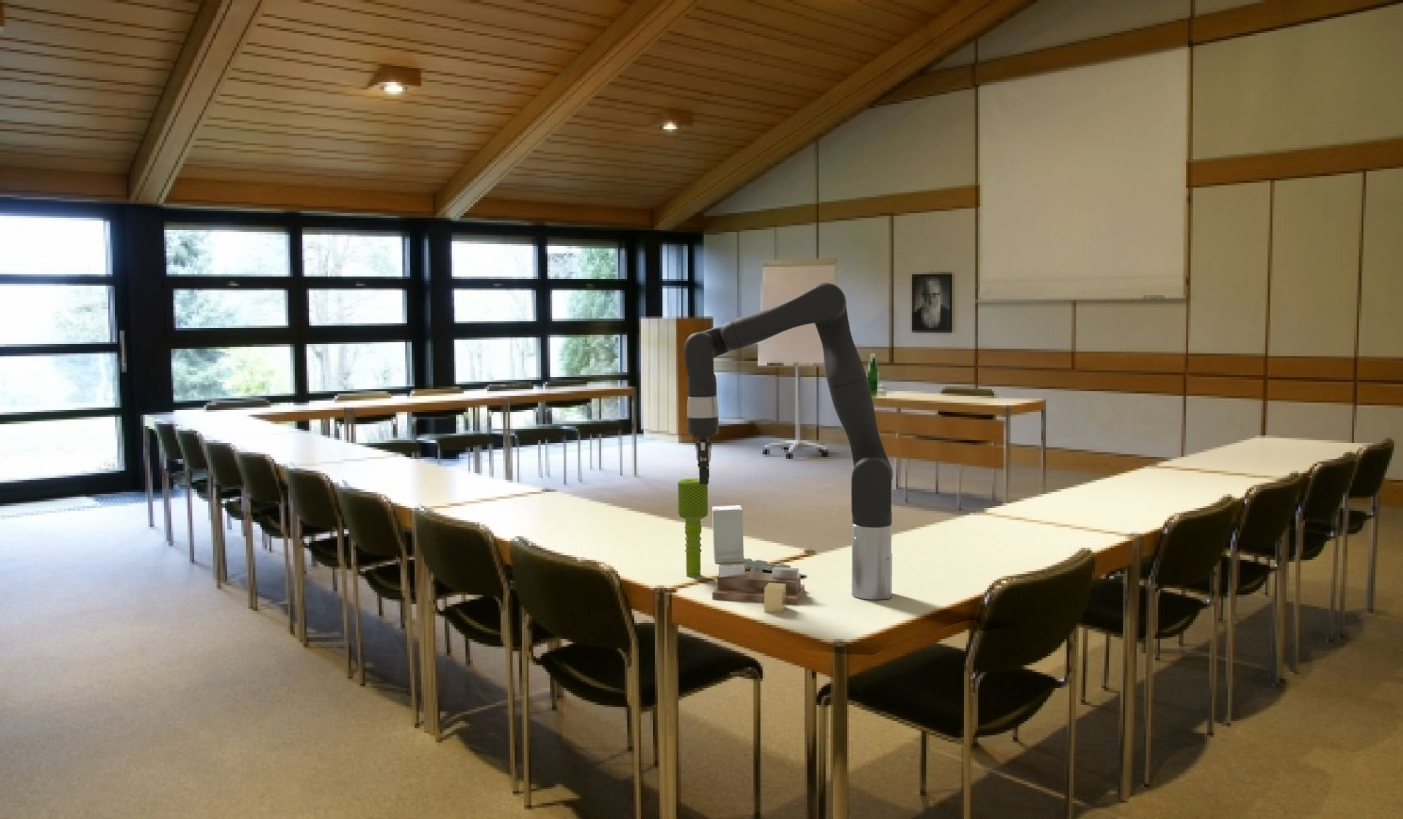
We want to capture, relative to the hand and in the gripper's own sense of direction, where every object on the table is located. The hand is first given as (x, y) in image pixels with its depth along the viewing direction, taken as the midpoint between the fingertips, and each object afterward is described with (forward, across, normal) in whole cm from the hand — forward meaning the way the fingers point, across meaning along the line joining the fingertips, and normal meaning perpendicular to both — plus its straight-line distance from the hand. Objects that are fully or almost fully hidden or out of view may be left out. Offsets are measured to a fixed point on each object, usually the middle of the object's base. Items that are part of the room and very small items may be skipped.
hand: (704, 481), depth 245 cm
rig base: (+27, -6, -12) cm, 30 cm away
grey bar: (+22, -7, -12) cm, 26 cm away
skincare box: (+27, +28, -5) cm, 39 cm away
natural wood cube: (+27, -18, -16) cm, 36 cm away
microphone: (+26, +12, +4) cm, 29 cm away
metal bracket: (+27, +11, -16) cm, 33 cm away
